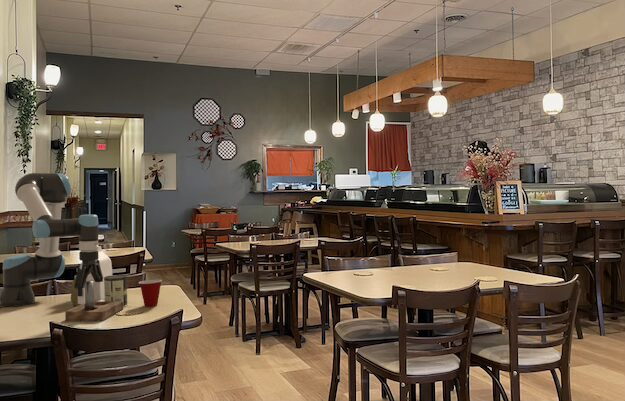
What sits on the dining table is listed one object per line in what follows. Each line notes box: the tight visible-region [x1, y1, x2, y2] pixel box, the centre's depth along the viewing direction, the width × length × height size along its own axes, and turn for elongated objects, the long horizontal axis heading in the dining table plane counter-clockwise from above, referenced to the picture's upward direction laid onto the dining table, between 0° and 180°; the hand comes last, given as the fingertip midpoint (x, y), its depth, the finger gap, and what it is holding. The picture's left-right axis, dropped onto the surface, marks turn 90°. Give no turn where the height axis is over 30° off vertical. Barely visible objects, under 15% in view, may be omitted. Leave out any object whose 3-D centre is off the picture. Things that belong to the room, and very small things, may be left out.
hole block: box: [64, 300, 124, 322], centre depth 223 cm, size 16×20×4 cm
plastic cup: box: [138, 279, 163, 308], centre depth 242 cm, size 11×11×12 cm
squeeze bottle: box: [70, 270, 87, 307], centre depth 243 cm, size 8×8×18 cm
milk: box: [80, 245, 113, 301], centre depth 262 cm, size 12×12×26 cm
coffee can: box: [104, 274, 128, 308], centre depth 241 cm, size 10×10×14 cm
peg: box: [84, 281, 95, 311], centre depth 218 cm, size 4×4×15 cm
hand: (89, 300), depth 218 cm, fingers open, 13 cm apart
